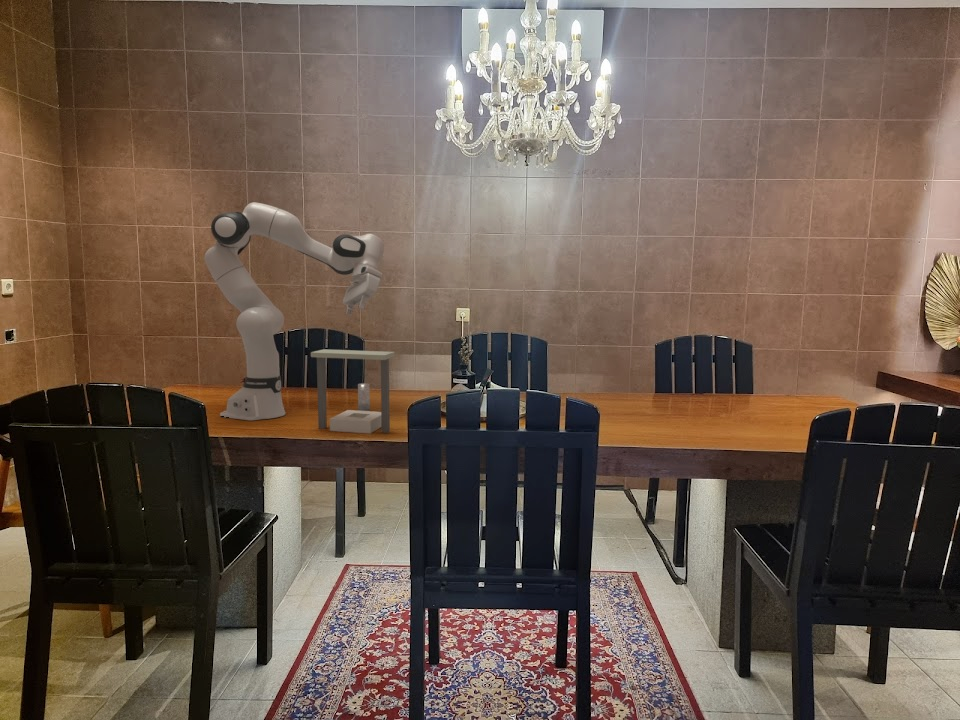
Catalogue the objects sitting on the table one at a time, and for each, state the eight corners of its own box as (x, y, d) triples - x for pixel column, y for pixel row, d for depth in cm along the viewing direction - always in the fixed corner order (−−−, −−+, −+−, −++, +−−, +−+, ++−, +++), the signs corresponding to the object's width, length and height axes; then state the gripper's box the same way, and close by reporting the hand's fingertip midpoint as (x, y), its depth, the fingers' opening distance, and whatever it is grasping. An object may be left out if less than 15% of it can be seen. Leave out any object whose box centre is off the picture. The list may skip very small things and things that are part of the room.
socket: (329, 430, 208) (329, 418, 207) (348, 421, 221) (347, 409, 221) (370, 433, 205) (370, 421, 204) (386, 423, 218) (386, 412, 218)
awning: (312, 430, 208) (310, 352, 205) (325, 424, 217) (323, 349, 213) (385, 435, 203) (384, 355, 199) (395, 428, 211) (394, 351, 208)
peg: (356, 418, 226) (356, 384, 224) (361, 416, 230) (360, 383, 228) (367, 419, 225) (366, 385, 224) (371, 416, 229) (371, 383, 227)
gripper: (344, 281, 236) (334, 314, 232) (369, 265, 220) (359, 301, 216) (359, 287, 240) (350, 321, 235) (385, 272, 224) (376, 308, 219)
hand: (354, 311), depth 225 cm, fingers open, 8 cm apart
